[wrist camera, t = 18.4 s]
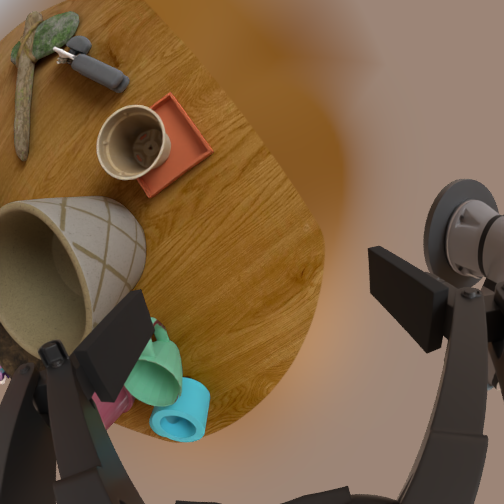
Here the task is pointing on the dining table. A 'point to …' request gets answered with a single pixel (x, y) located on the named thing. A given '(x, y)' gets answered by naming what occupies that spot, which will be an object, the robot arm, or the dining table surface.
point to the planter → (65, 267)
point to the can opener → (91, 65)
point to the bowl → (15, 354)
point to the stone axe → (26, 55)
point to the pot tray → (174, 146)
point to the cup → (183, 414)
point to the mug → (157, 371)
